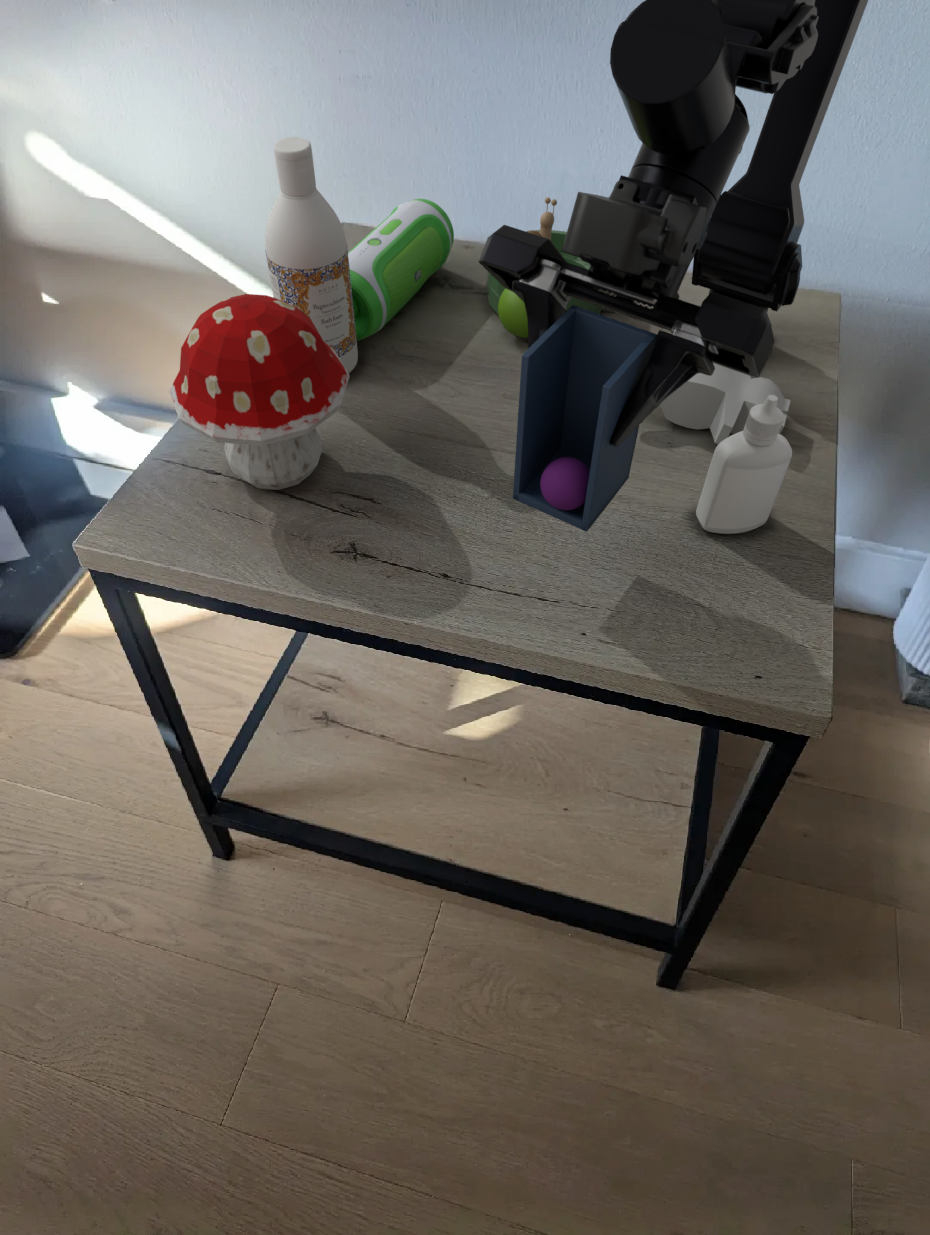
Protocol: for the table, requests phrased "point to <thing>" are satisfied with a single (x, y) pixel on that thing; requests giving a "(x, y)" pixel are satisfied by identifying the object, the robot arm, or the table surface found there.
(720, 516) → the eye dropper bottle
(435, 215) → the speaker
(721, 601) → the table surface
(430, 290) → the table surface
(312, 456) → the decorative mushroom
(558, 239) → the bowl
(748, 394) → the bunny figurine
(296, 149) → the bath foam
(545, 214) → the snail figurine
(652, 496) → the table surface
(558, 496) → the ball
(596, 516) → the dark blue rectangular box
